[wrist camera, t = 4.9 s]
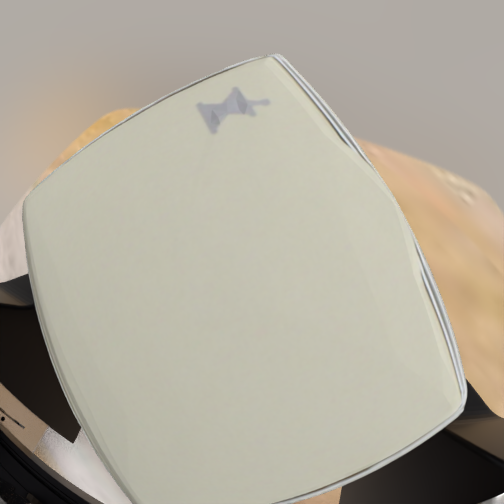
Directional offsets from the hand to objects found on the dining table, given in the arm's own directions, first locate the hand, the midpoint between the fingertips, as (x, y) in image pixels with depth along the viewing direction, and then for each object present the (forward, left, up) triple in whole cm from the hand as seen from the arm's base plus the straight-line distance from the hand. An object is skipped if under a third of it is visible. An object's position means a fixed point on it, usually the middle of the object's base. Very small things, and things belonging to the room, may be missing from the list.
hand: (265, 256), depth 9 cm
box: (-1, 0, -7) cm, 7 cm away
